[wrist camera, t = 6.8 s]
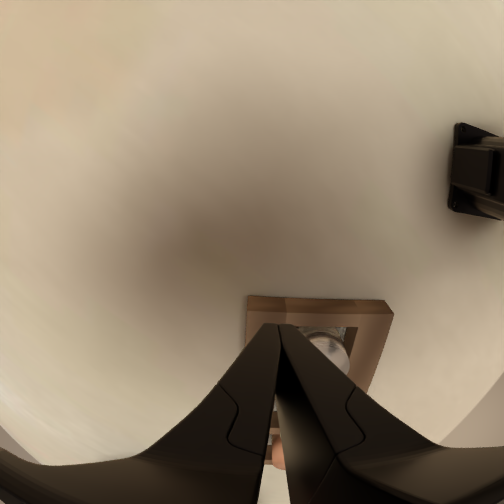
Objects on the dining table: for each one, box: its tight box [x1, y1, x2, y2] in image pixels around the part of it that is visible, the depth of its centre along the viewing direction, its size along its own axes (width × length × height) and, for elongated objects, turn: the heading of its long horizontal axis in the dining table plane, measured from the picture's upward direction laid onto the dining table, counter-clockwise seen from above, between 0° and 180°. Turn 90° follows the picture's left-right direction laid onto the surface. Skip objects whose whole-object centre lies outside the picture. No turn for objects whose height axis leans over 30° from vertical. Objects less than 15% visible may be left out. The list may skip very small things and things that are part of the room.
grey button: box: [297, 326, 350, 375], centre depth 20 cm, size 4×4×3 cm
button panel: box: [245, 296, 394, 465], centre depth 23 cm, size 10×19×2 cm, turn 177°
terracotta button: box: [272, 434, 286, 470], centre depth 23 cm, size 4×4×3 cm
